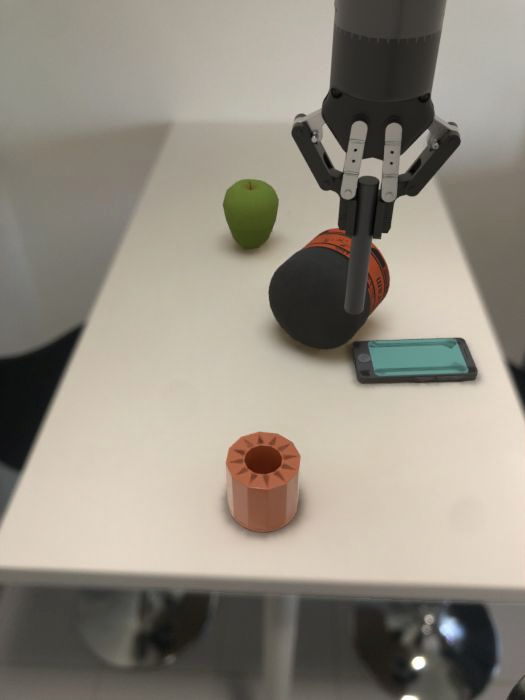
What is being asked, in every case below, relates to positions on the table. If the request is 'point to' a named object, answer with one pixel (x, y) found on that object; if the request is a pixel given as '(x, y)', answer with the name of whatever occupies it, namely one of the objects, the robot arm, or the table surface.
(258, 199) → the apple
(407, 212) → the table surface
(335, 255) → the oil filter
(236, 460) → the pen pot
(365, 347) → the smartphone
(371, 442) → the table surface
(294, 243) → the table surface
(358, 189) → the stylus
